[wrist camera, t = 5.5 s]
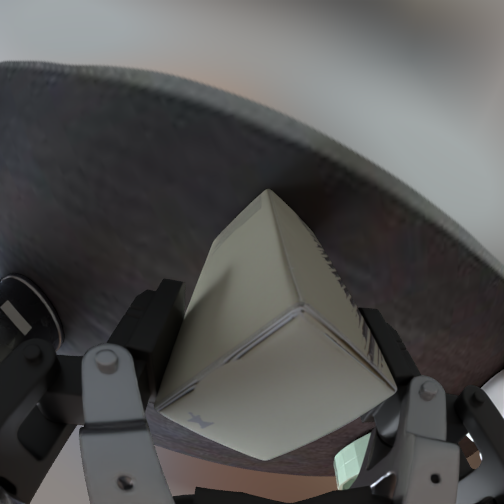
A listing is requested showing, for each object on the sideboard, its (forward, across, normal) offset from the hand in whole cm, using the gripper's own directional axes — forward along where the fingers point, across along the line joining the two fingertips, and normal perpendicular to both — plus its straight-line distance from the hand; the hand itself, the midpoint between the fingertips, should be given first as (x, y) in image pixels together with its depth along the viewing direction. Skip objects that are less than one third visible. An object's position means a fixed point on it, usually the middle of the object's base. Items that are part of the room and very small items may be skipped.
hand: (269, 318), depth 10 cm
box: (+9, 0, 0) cm, 9 cm away
